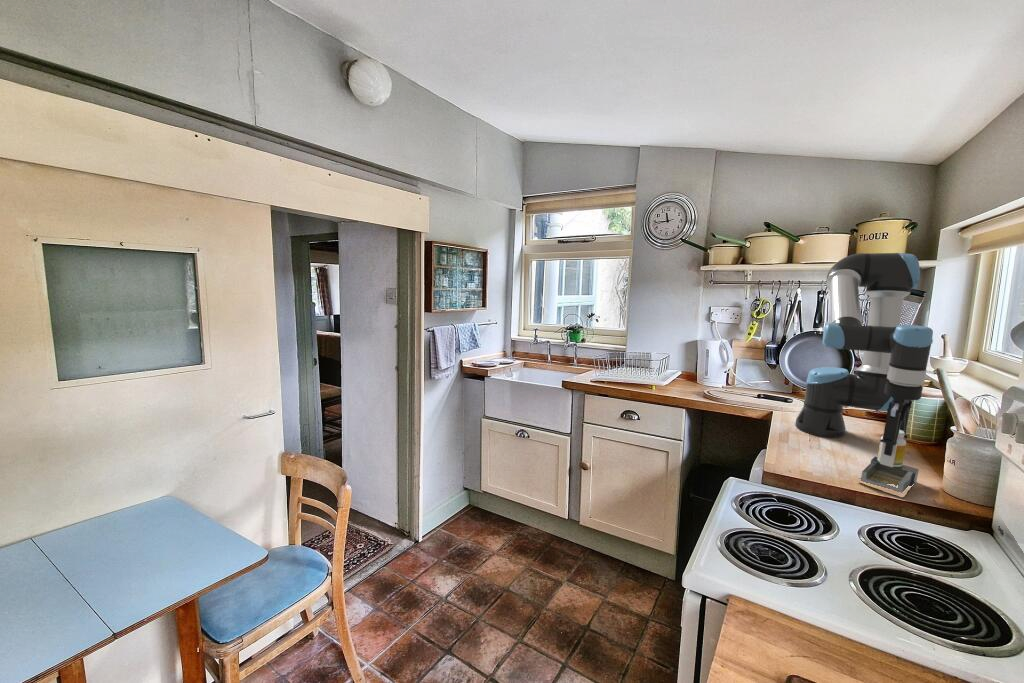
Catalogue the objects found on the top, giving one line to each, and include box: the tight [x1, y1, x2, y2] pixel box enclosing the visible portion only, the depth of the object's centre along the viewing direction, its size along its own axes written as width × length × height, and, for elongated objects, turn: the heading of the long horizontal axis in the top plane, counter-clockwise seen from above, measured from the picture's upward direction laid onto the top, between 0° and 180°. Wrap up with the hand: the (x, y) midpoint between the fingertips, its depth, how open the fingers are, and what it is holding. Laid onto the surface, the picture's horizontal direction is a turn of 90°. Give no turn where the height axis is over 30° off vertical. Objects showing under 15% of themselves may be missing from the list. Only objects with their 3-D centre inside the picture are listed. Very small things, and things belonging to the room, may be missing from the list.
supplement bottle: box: [876, 430, 907, 467], centre depth 121 cm, size 5×5×10 cm
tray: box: [859, 456, 920, 493], centre depth 124 cm, size 14×10×5 cm
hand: (889, 461), depth 122 cm, fingers closed on supplement bottle, 5 cm apart
